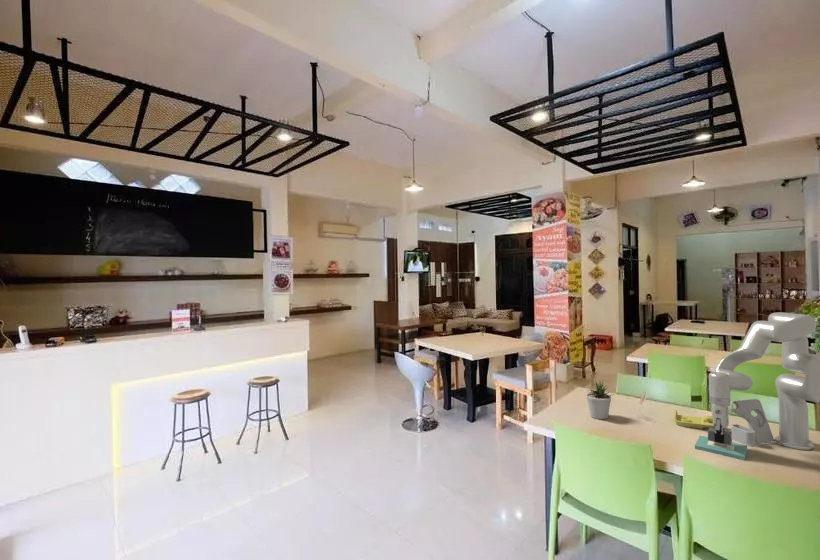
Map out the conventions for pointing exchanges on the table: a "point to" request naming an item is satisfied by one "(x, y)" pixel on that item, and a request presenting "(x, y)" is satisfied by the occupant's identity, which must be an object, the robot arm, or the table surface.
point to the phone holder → (751, 424)
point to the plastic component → (693, 421)
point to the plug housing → (726, 434)
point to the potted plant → (599, 402)
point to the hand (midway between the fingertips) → (720, 440)
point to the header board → (721, 448)
